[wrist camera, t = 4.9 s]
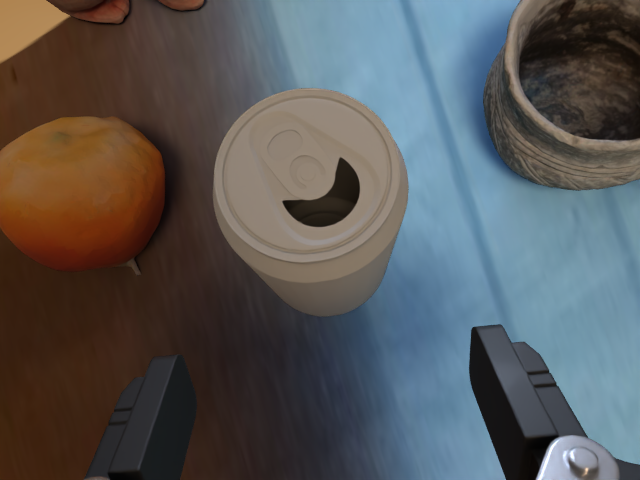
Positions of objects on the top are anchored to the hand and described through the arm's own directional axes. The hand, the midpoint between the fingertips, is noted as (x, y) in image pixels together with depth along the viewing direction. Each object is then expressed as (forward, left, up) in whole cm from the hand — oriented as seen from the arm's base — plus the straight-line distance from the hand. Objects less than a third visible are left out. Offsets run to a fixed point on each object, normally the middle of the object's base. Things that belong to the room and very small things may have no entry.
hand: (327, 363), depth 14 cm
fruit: (-5, +14, -12) cm, 19 cm away
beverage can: (+3, +5, -12) cm, 13 cm away
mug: (+18, +2, -12) cm, 21 cm away
